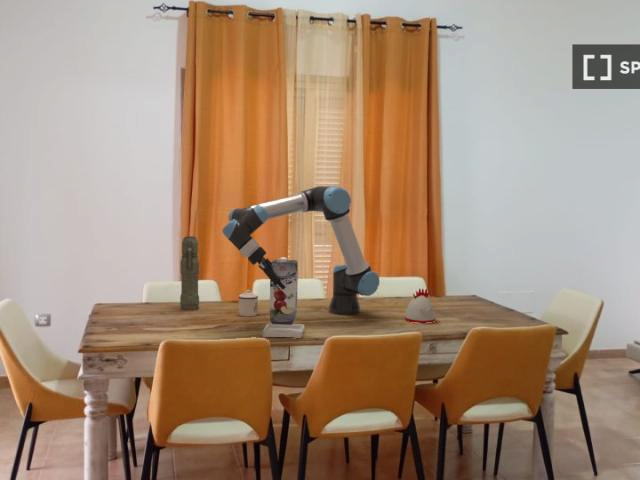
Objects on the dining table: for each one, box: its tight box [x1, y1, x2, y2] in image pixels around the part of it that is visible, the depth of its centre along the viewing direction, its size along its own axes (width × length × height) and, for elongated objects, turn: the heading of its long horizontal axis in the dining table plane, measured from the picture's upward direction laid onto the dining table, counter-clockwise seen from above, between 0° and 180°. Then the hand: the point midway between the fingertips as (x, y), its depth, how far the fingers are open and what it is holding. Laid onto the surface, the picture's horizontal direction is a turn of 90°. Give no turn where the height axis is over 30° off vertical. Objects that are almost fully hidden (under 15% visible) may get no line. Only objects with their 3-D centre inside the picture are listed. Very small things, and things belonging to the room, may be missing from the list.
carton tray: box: [262, 322, 305, 338], centre depth 252 cm, size 16×15×2 cm
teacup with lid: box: [238, 289, 259, 318], centre depth 289 cm, size 12×9×12 cm
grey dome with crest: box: [404, 288, 437, 323], centre depth 282 cm, size 14×14×15 cm
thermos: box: [179, 236, 200, 311], centre depth 297 cm, size 9×12×35 cm
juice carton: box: [269, 256, 299, 325], centre depth 251 cm, size 9×10×27 cm
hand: (291, 292), depth 250 cm, fingers closed on juice carton, 9 cm apart
